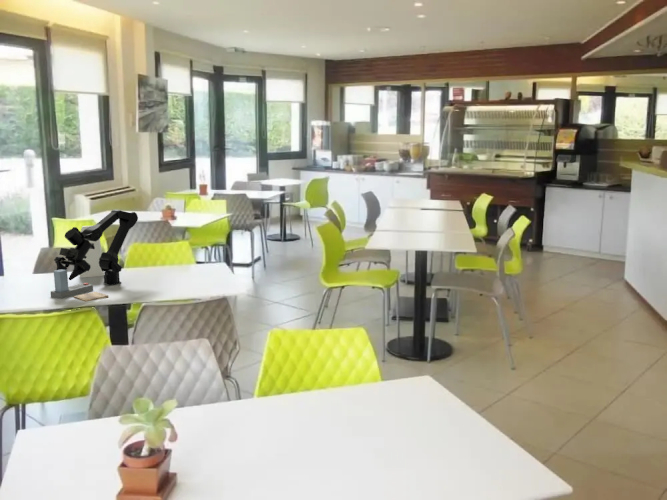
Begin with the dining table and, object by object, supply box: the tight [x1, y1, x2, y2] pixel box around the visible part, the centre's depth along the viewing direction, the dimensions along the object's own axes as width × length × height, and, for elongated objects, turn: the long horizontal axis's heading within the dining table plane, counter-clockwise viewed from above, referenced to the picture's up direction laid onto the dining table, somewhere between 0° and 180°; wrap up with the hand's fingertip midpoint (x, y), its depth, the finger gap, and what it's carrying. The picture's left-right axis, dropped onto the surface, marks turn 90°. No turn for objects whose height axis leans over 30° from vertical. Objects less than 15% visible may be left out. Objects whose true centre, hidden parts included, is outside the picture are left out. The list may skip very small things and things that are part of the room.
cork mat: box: [72, 291, 109, 303], centre depth 292 cm, size 11×11×1 cm
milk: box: [79, 225, 105, 279], centre depth 337 cm, size 12×12×26 cm
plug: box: [53, 269, 69, 293], centre depth 293 cm, size 4×4×12 cm
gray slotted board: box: [50, 282, 94, 300], centre depth 298 cm, size 18×7×4 cm, turn 151°
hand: (62, 278), depth 293 cm, fingers open, 9 cm apart
